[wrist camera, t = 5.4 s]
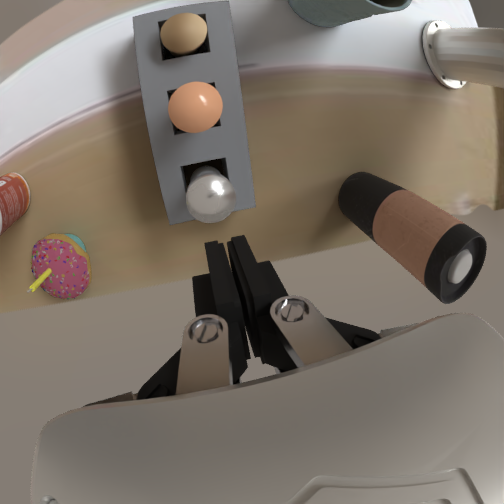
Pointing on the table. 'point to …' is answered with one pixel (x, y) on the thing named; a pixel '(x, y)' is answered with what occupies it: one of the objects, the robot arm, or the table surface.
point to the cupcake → (61, 266)
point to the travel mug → (415, 234)
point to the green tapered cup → (343, 10)
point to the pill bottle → (12, 199)
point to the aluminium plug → (210, 195)
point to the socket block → (174, 76)
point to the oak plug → (183, 34)
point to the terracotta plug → (195, 107)
